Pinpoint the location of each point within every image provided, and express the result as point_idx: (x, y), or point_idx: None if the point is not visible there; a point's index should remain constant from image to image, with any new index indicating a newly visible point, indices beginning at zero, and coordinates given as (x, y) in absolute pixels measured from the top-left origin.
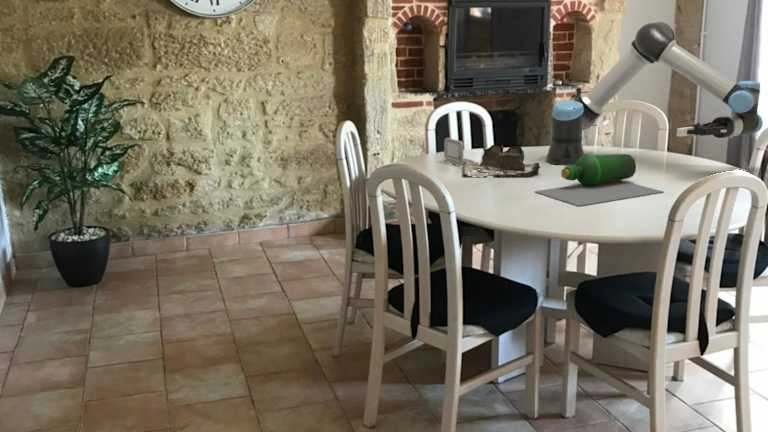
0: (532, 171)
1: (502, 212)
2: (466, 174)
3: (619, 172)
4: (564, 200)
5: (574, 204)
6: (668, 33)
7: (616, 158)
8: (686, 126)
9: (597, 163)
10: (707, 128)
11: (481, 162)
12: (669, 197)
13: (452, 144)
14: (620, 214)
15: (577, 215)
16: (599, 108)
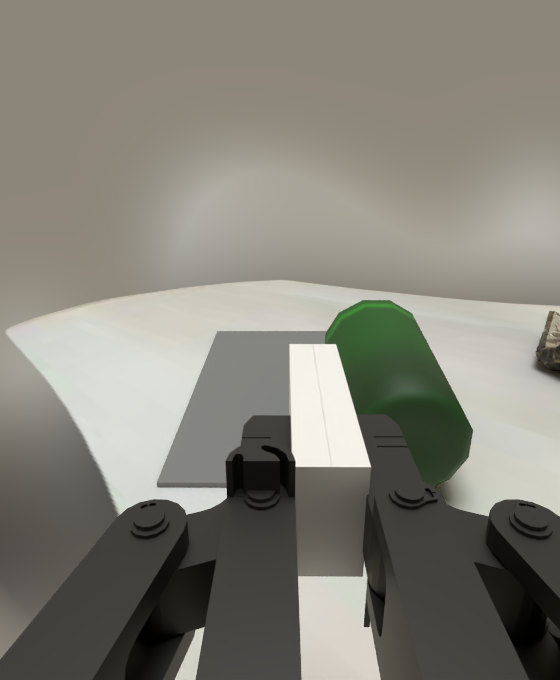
0: (539, 354)
1: (266, 293)
2: (550, 313)
3: None
4: (264, 332)
5: (230, 332)
6: None
7: (365, 352)
8: (517, 504)
9: (337, 321)
10: (48, 603)
11: None
12: (103, 462)
13: None
14: (121, 345)
15: (177, 320)
16: None
